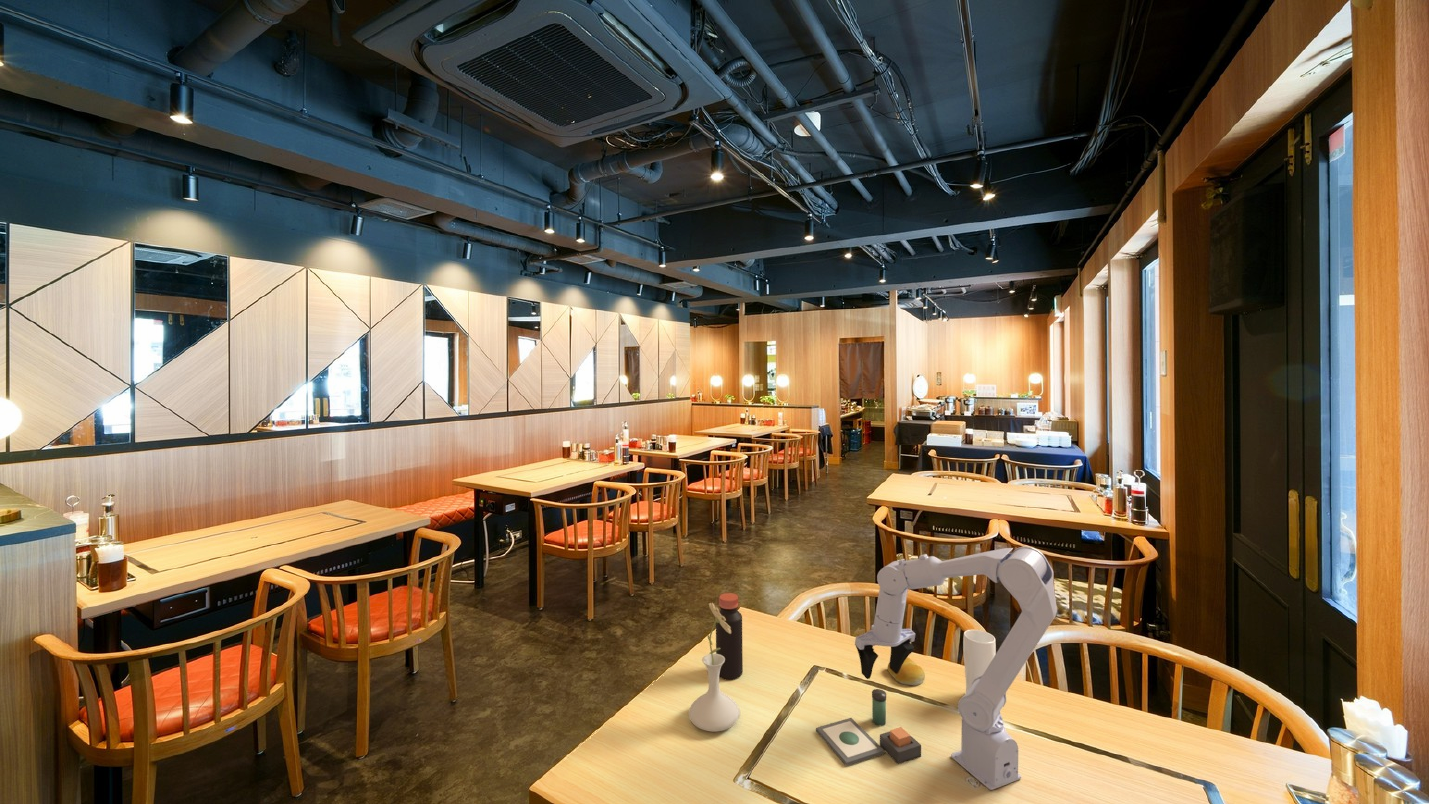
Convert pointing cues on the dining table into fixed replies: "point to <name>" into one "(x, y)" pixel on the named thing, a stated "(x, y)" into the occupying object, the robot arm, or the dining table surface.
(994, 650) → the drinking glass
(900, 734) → the button
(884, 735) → the button housing
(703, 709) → the flower in vase
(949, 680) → the dining table surface
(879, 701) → the marker
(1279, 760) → the dining table surface
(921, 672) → the bread roll
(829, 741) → the board
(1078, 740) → the dining table surface
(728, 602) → the bottle
